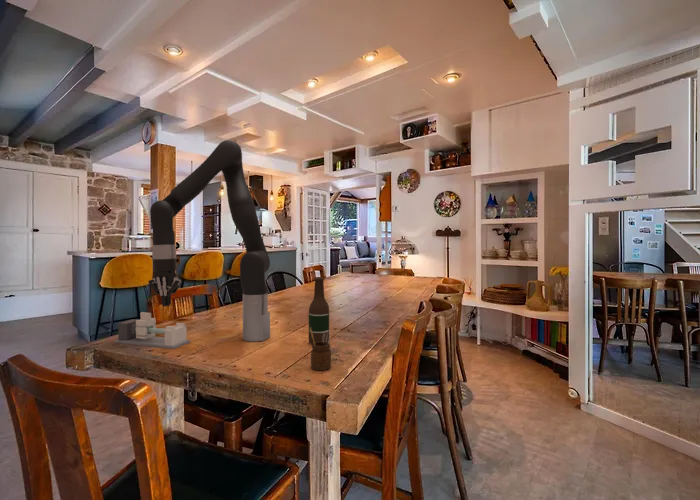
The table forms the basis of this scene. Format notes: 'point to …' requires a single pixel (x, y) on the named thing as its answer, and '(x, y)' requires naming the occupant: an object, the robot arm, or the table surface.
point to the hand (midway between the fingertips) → (166, 305)
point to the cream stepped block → (145, 325)
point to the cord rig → (172, 336)
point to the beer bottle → (319, 314)
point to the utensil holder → (320, 354)
